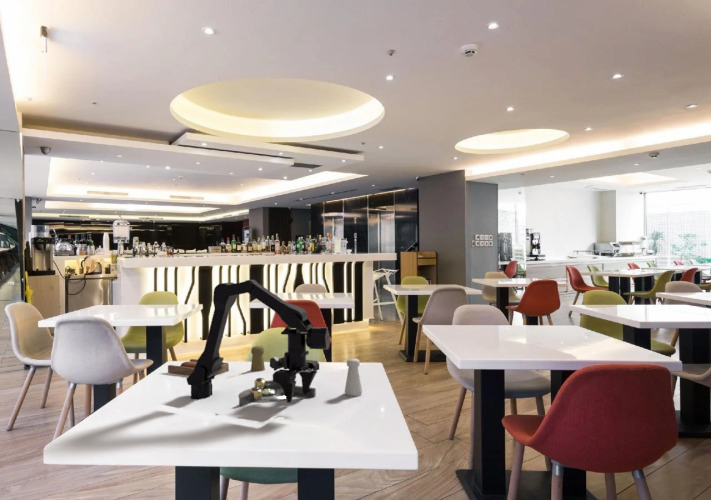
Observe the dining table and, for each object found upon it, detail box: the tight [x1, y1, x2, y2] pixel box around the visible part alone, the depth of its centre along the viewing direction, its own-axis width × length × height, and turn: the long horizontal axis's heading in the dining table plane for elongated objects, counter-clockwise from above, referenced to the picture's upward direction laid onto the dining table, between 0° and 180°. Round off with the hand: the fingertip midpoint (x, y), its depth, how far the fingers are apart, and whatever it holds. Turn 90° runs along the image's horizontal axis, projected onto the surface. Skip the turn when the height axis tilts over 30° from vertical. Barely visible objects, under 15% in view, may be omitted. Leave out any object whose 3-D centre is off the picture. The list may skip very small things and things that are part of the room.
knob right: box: [282, 385, 317, 398], centre depth 152 cm, size 12×4×4 cm, turn 65°
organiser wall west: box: [167, 364, 194, 377], centre depth 185 cm, size 1×20×3 cm, turn 65°
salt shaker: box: [344, 357, 363, 397], centre depth 152 cm, size 6×6×13 cm
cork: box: [250, 345, 266, 372], centre depth 186 cm, size 6×6×11 cm
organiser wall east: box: [189, 358, 229, 365], centre depth 196 cm, size 1×20×3 cm, turn 65°
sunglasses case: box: [179, 361, 197, 368], centre depth 191 cm, size 18×7×7 cm, turn 67°
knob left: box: [254, 377, 282, 390], centre depth 159 cm, size 12×4×4 cm, turn 105°
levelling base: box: [238, 386, 296, 407], centre depth 151 cm, size 24×19×5 cm
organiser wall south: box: [215, 363, 230, 376], centre depth 186 cm, size 11×1×3 cm, turn 155°
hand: (297, 398), depth 144 cm, fingers open, 9 cm apart
